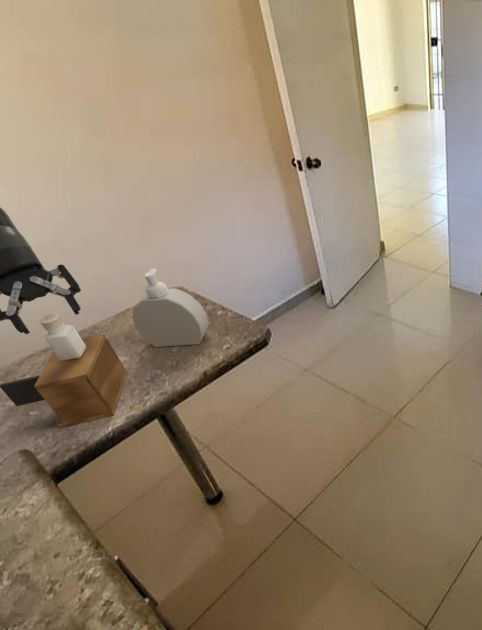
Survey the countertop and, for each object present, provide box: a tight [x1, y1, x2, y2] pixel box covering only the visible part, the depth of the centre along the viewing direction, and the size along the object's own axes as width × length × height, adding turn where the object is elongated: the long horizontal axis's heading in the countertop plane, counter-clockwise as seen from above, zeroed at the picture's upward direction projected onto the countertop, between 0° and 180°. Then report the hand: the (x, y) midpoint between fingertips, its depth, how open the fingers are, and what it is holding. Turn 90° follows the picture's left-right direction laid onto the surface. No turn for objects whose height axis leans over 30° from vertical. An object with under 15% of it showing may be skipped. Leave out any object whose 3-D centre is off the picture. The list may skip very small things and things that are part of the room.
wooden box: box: [34, 333, 128, 429], centre depth 94 cm, size 10×14×12 cm
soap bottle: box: [131, 267, 210, 348], centre depth 107 cm, size 16×5×20 cm, turn 93°
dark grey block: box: [0, 374, 45, 407], centre depth 90 cm, size 10×7×9 cm
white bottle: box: [39, 313, 86, 361], centre depth 88 cm, size 4×4×10 cm
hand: (52, 322), depth 87 cm, fingers open, 8 cm apart
